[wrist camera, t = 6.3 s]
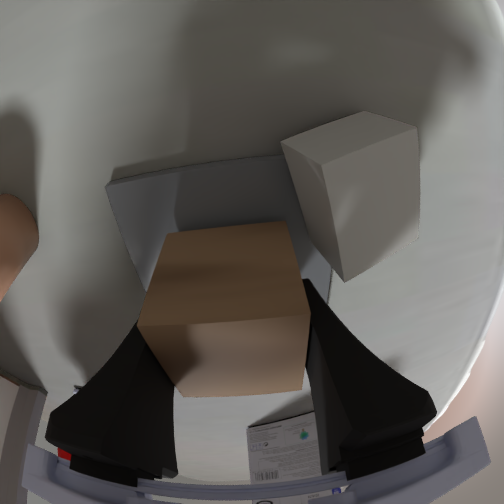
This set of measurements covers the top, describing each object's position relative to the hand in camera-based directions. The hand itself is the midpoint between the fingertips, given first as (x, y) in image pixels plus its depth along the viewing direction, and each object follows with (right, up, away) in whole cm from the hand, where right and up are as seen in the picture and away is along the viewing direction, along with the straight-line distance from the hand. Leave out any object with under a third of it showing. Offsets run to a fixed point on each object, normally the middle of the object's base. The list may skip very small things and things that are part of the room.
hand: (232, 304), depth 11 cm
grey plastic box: (+4, +5, 0) cm, 7 cm away
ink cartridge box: (+5, -20, +19) cm, 28 cm away
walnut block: (0, +1, +1) cm, 2 cm away
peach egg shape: (-14, +4, 0) cm, 14 cm away
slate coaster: (0, +2, +3) cm, 3 cm away
